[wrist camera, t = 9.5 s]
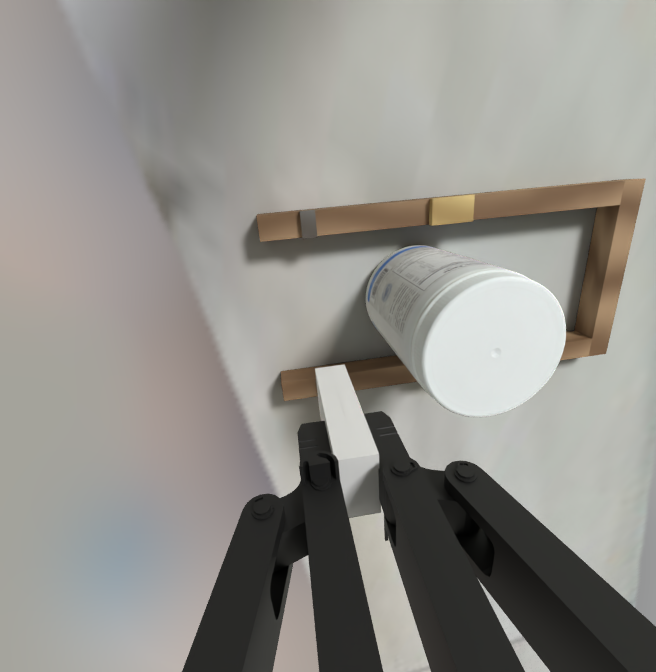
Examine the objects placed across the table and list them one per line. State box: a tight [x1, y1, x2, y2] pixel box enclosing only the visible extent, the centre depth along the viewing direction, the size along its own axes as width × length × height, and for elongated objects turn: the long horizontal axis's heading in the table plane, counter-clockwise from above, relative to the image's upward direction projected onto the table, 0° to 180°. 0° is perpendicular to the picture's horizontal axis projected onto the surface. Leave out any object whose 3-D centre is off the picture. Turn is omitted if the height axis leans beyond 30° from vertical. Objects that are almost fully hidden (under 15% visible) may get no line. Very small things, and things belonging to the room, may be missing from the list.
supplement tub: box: [366, 245, 566, 417], centre depth 28 cm, size 10×10×15 cm
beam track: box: [256, 179, 645, 401], centre depth 34 cm, size 17×34×3 cm, turn 95°
